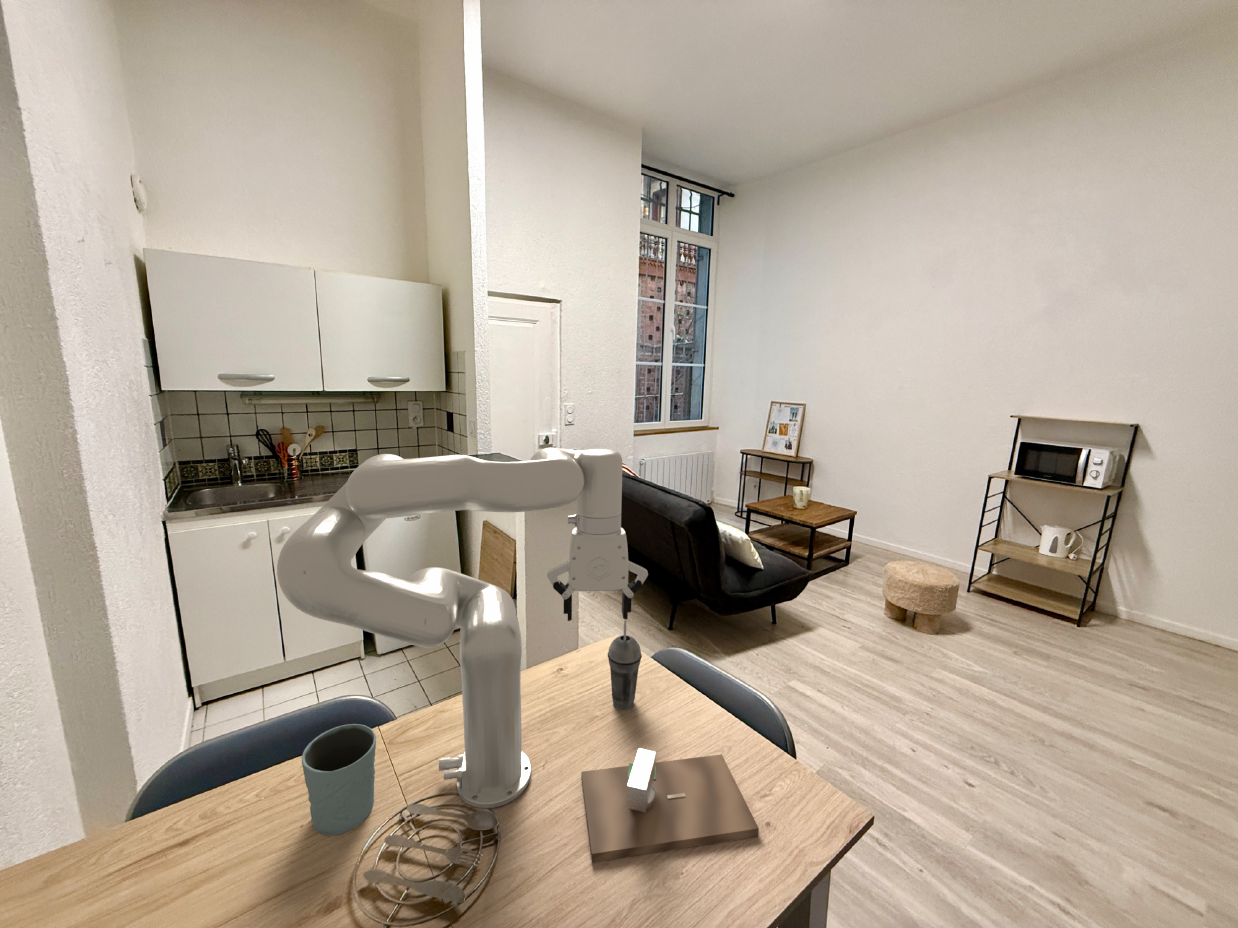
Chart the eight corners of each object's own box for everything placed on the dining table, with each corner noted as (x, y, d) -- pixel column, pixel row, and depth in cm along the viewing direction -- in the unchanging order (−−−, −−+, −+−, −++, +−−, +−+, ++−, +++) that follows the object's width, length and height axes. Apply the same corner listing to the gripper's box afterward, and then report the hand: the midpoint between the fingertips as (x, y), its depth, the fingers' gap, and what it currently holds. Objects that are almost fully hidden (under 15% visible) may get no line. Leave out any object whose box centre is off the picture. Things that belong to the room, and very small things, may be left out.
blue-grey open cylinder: (317, 793, 81) (311, 730, 79) (384, 778, 84) (379, 717, 82) (300, 849, 72) (292, 779, 69) (376, 829, 75) (371, 762, 73)
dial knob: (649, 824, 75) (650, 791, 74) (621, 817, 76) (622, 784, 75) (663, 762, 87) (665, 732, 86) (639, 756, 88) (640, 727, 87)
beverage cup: (641, 693, 108) (643, 610, 105) (639, 716, 101) (642, 628, 98) (608, 691, 109) (610, 608, 105) (604, 713, 102) (606, 625, 98)
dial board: (591, 862, 71) (591, 852, 70) (581, 777, 86) (581, 768, 85) (758, 836, 75) (758, 827, 75) (720, 759, 90) (721, 751, 90)
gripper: (545, 529, 77) (546, 628, 81) (653, 529, 79) (649, 626, 82) (548, 516, 85) (548, 607, 88) (646, 515, 86) (643, 605, 89)
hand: (597, 616), depth 85 cm, fingers open, 9 cm apart
